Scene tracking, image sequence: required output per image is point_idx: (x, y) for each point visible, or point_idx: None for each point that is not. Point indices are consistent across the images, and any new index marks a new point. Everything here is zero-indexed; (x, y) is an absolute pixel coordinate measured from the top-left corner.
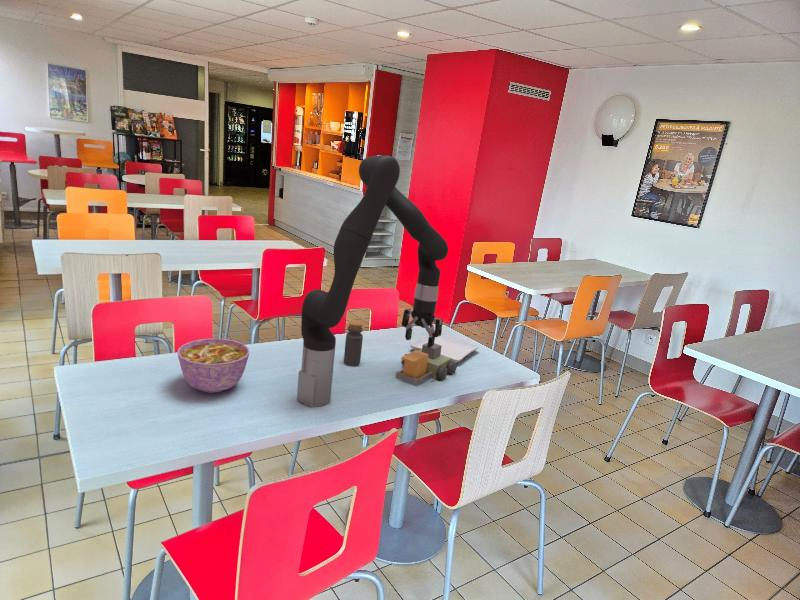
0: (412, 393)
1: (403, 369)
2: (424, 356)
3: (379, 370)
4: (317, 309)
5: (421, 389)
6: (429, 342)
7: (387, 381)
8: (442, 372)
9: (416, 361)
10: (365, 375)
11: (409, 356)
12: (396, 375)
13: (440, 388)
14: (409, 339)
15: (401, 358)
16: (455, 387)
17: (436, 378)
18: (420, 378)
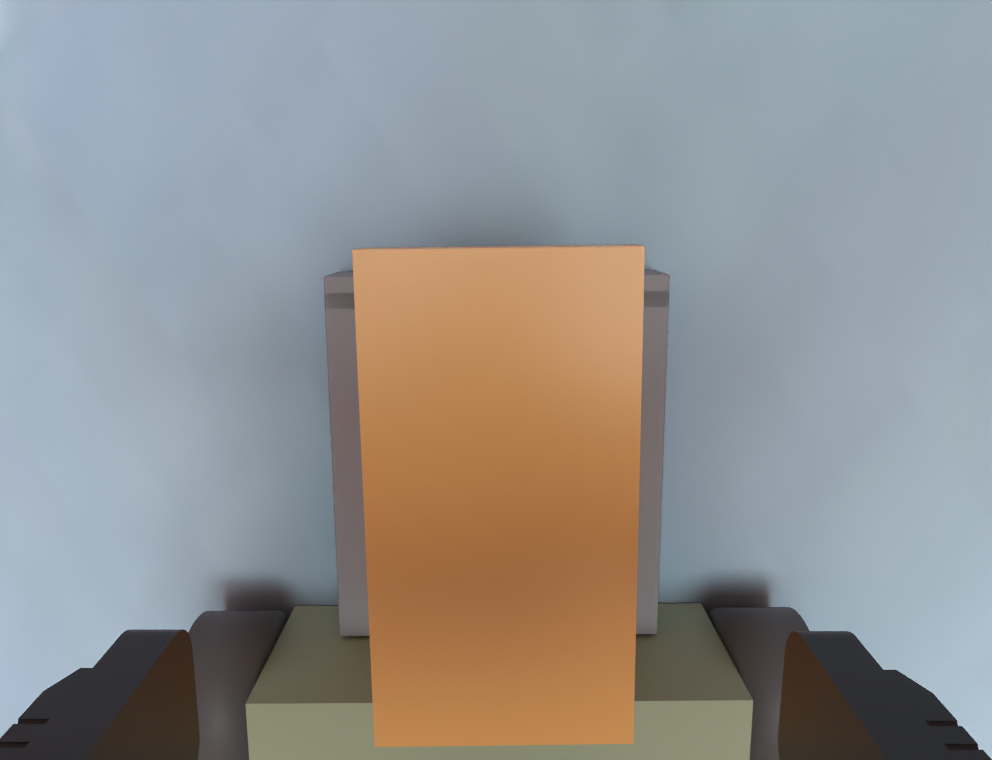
0: (253, 45)
1: (648, 426)
2: (368, 612)
3: (916, 293)
4: None
5: (246, 233)
6: (65, 704)
7: (665, 94)
8: None
9: (358, 338)
10: (971, 19)
11: (551, 393)
12: (650, 271)
13: (116, 433)
14: (785, 711)
15: (633, 246)
16: (22, 587)
17: (293, 616)
18: (333, 357)
